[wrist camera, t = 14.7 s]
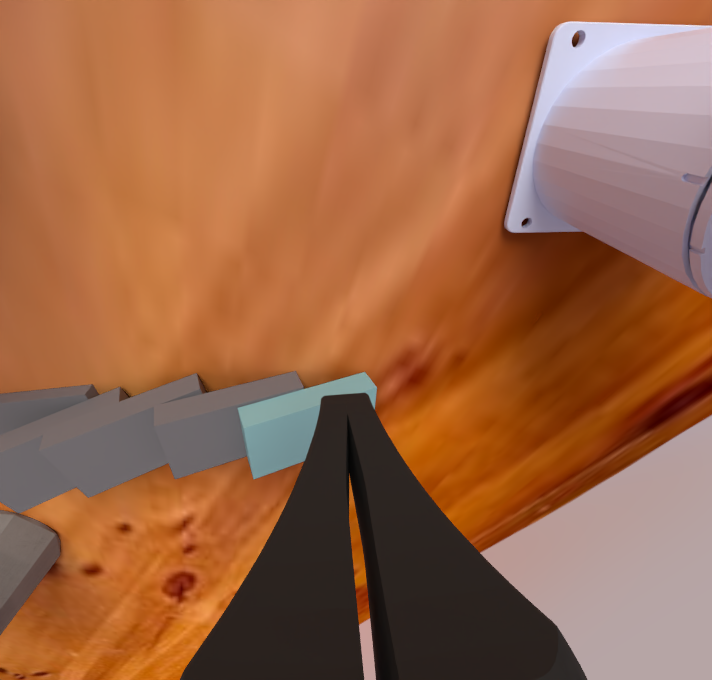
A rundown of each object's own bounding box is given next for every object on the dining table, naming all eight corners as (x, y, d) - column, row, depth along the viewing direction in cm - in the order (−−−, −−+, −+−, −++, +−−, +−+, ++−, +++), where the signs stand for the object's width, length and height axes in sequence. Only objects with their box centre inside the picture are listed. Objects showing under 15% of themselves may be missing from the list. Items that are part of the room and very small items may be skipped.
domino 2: (118, 403, 20) (-47, 472, 18) (158, 449, 23) (18, 513, 21) (120, 386, 22) (-36, 449, 19) (157, 432, 24) (25, 491, 22)
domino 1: (84, 394, 21) (-59, 409, 20) (118, 444, 23) (-9, 458, 23) (98, 376, 22) (-37, 390, 22) (128, 425, 25) (8, 438, 24)
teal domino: (376, 387, 22) (243, 428, 19) (371, 436, 24) (253, 479, 21) (364, 371, 23) (237, 407, 20) (361, 420, 26) (247, 458, 22)
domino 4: (303, 386, 21) (153, 426, 18) (306, 437, 24) (174, 479, 21) (295, 371, 22) (153, 405, 19) (298, 420, 25) (173, 458, 22)
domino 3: (199, 388, 20) (38, 450, 18) (225, 438, 23) (88, 497, 21) (196, 373, 22) (44, 429, 19) (221, 421, 24) (91, 476, 22)
